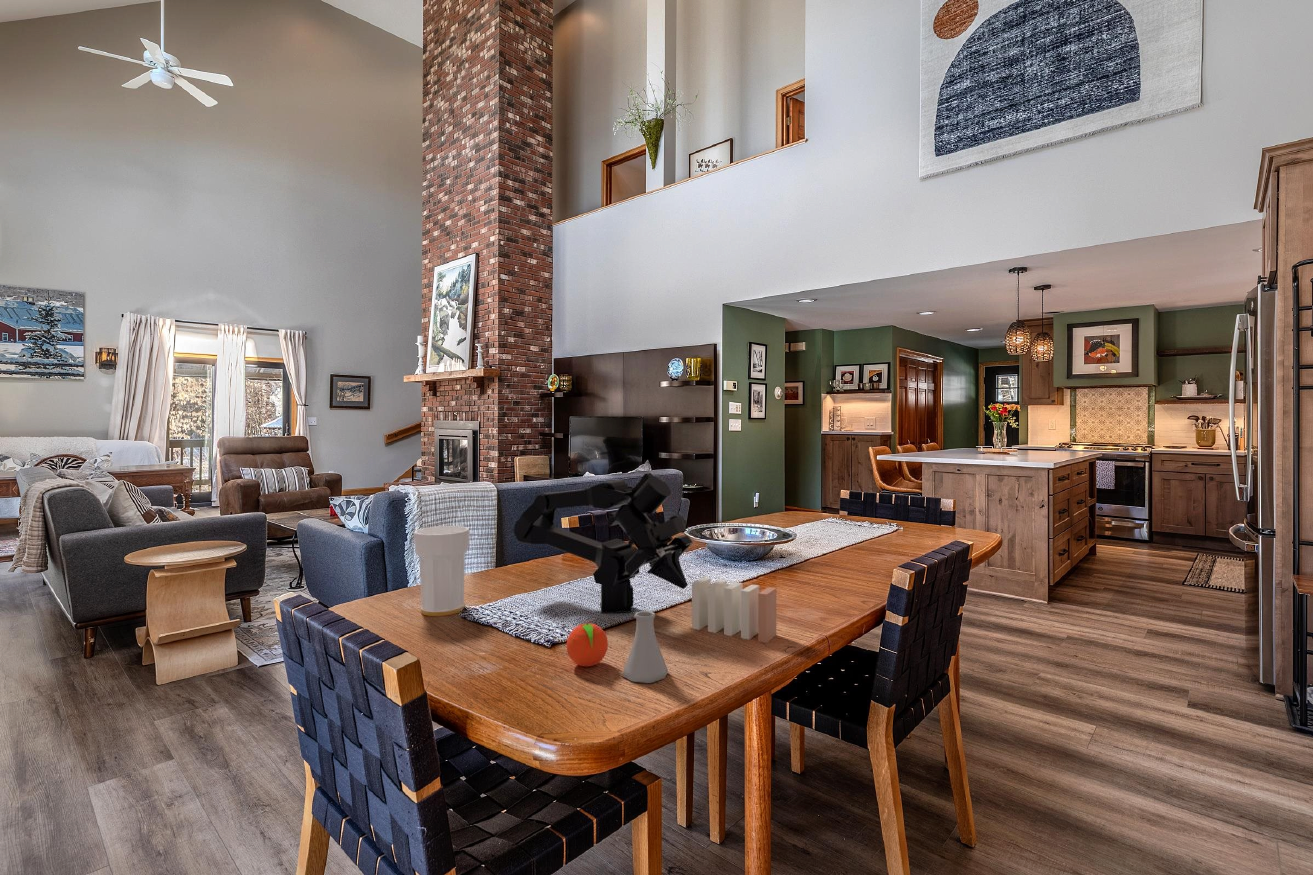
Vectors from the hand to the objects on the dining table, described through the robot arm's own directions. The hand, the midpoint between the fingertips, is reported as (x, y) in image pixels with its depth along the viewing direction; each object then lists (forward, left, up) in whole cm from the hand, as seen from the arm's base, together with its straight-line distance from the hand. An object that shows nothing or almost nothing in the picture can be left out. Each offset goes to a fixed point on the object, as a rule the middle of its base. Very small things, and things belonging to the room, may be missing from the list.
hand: (685, 587), depth 129 cm
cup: (-50, +16, -7) cm, 53 cm away
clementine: (-20, -20, -7) cm, 29 cm away
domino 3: (+8, -7, -7) cm, 13 cm away
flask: (-11, -25, -7) cm, 28 cm away
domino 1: (+3, -2, -7) cm, 8 cm away
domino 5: (+14, -11, -7) cm, 19 cm away
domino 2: (+6, -5, -7) cm, 10 cm away
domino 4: (+11, -9, -7) cm, 16 cm away
